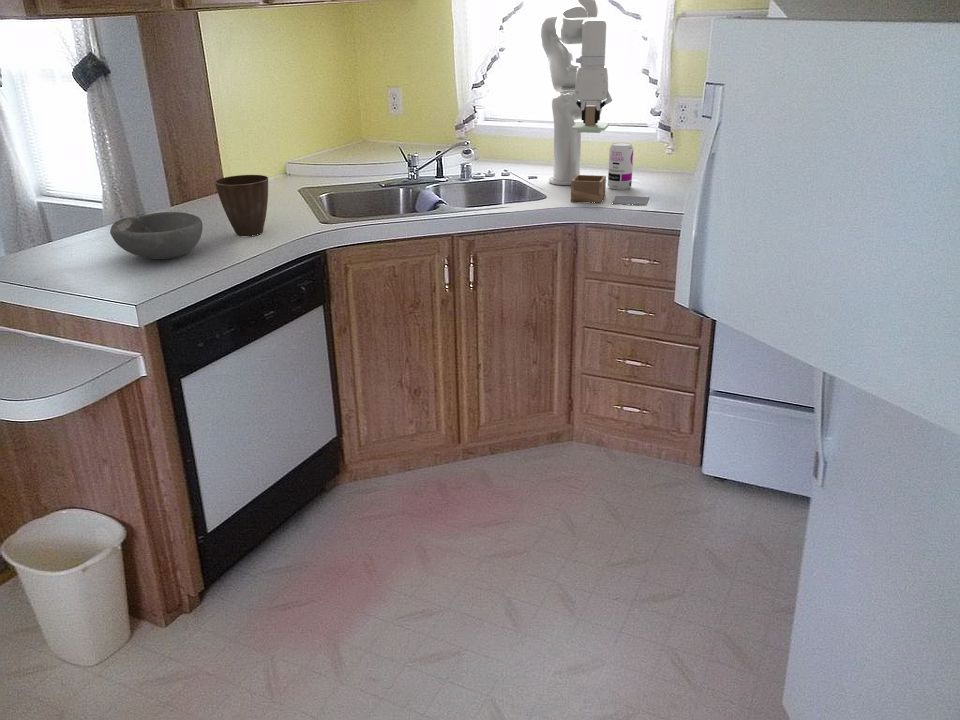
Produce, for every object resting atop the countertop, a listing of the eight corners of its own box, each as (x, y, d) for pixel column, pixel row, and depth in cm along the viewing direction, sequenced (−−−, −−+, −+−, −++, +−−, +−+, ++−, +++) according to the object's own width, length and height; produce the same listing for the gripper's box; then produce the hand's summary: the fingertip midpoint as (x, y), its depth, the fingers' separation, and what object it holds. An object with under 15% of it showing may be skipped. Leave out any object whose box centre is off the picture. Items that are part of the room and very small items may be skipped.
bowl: (143, 275, 206) (136, 236, 202) (102, 259, 220) (94, 222, 216) (223, 254, 222) (217, 218, 218) (180, 240, 235) (174, 206, 231)
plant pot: (212, 238, 237) (203, 183, 230) (242, 225, 250) (235, 173, 243) (256, 242, 232) (248, 186, 225) (284, 229, 245) (278, 175, 238)
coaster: (615, 196, 274) (615, 195, 274) (648, 198, 272) (648, 196, 271) (611, 204, 265) (611, 203, 265) (645, 205, 262) (645, 204, 262)
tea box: (575, 195, 277) (576, 174, 275) (605, 196, 275) (606, 175, 272) (570, 202, 269) (571, 180, 266) (601, 203, 266) (601, 182, 263)
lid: (576, 128, 269) (577, 103, 265) (608, 128, 266) (609, 104, 263) (571, 133, 260) (572, 107, 256) (604, 133, 257) (605, 108, 254)
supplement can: (630, 185, 291) (632, 142, 285) (631, 190, 283) (634, 146, 277) (607, 185, 291) (609, 142, 285) (608, 190, 284) (610, 146, 278)
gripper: (564, 63, 253) (563, 124, 261) (617, 63, 249) (614, 125, 256) (568, 61, 260) (567, 120, 267) (620, 61, 255) (617, 121, 263)
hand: (590, 122), depth 262 cm, fingers closed on lid, 3 cm apart
